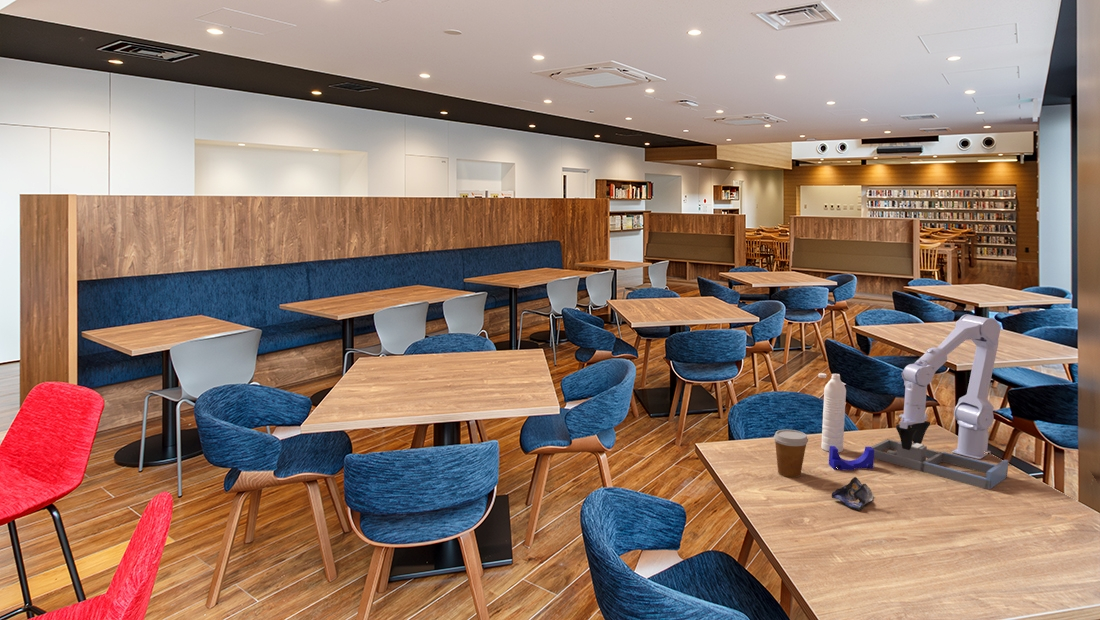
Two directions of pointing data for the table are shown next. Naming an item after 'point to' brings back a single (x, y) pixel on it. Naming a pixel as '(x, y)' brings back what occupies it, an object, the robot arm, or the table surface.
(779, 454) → the disposable coffee cup
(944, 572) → the table surface
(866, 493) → the snack package
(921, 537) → the table surface
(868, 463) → the blue pipe cradle
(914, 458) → the cord plug
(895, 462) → the grey divided rectangular frame
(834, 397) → the water bottle
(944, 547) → the table surface
